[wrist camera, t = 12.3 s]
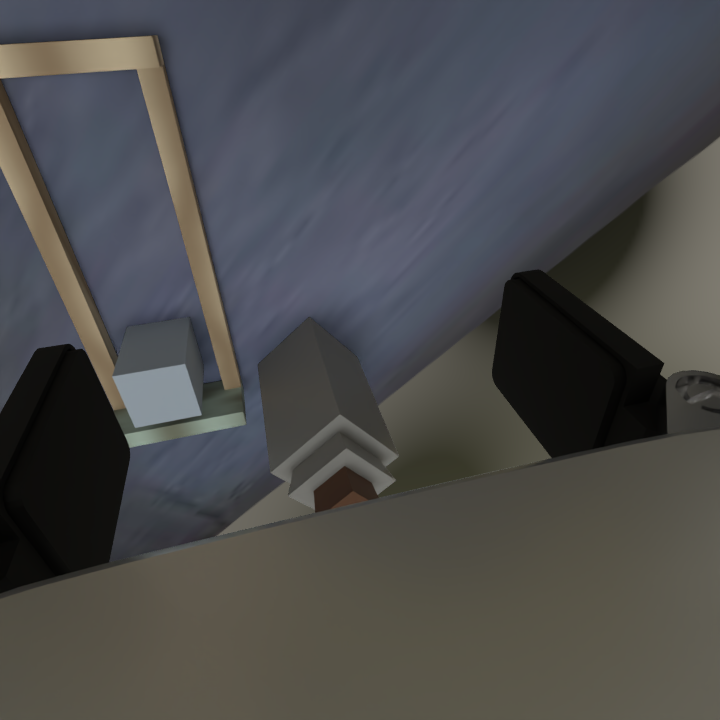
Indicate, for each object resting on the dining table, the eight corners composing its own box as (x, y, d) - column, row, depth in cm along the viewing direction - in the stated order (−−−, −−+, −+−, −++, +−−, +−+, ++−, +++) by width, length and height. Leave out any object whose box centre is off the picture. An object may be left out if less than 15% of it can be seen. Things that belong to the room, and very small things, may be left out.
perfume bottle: (308, 399, 48) (346, 557, 34) (257, 364, 44) (276, 526, 30) (357, 356, 46) (419, 503, 32) (309, 316, 43) (355, 463, 28)
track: (157, 35, 29) (147, 36, 25) (243, 389, 45) (246, 424, 41) (-43, 47, 27) (-87, 50, 23) (122, 412, 44) (112, 450, 40)
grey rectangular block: (189, 316, 40) (185, 364, 34) (203, 364, 43) (201, 415, 37) (127, 326, 39) (112, 376, 34) (146, 374, 42) (134, 427, 36)
